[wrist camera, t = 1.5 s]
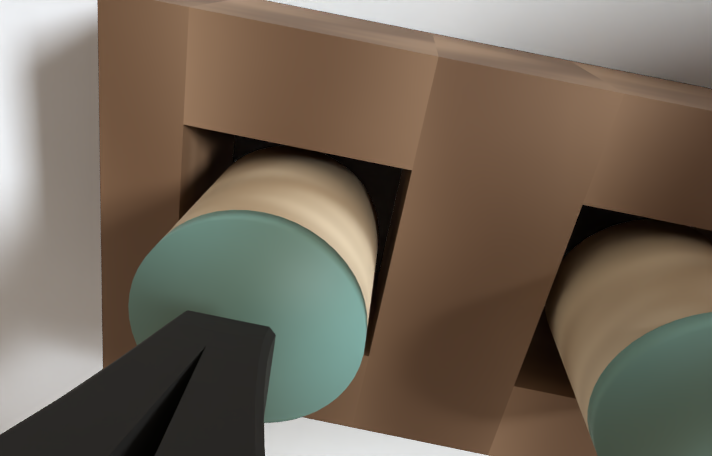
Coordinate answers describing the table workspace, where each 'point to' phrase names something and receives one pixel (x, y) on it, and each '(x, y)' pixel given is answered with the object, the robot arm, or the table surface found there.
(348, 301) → the peg
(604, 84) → the walnut block
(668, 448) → the peg
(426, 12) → the table surface
